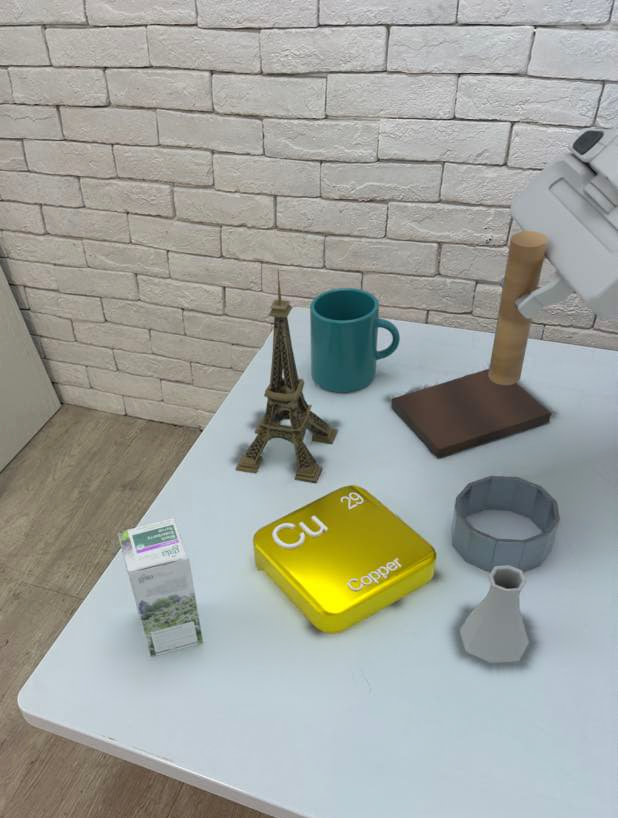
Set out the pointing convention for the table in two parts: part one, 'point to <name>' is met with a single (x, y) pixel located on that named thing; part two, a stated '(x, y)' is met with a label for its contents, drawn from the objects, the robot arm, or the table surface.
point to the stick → (510, 322)
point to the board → (468, 412)
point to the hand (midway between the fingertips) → (511, 299)
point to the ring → (514, 498)
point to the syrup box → (162, 586)
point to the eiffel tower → (286, 405)
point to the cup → (346, 339)
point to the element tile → (343, 558)
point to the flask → (498, 619)
